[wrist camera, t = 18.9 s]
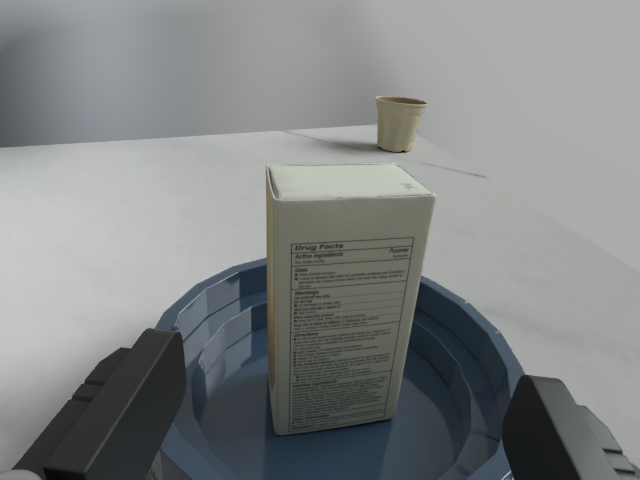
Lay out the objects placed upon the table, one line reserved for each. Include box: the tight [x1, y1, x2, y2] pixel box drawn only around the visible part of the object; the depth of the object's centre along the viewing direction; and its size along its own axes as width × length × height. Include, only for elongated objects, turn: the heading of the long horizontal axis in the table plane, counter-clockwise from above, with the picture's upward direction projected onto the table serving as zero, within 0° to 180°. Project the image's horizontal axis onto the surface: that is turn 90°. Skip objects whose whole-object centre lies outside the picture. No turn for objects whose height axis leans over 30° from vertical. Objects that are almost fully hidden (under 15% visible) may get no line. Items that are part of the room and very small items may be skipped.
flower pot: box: [375, 96, 429, 152], centre depth 74 cm, size 9×9×9 cm
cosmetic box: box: [266, 163, 436, 435], centre depth 19 cm, size 6×4×12 cm
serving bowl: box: [151, 258, 525, 480], centre depth 21 cm, size 18×18×4 cm
